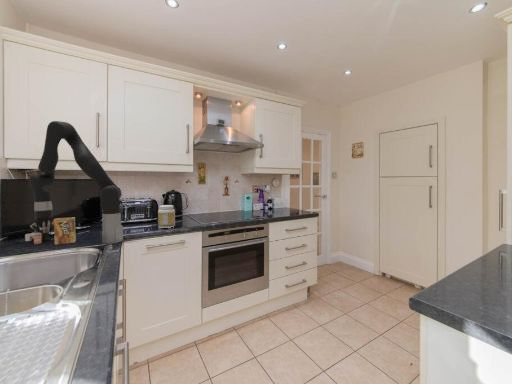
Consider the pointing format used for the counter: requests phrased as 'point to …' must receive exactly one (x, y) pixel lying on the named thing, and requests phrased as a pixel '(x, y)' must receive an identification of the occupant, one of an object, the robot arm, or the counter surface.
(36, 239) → the link
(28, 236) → the steel keeper
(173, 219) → the supplement tub
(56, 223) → the candy box
